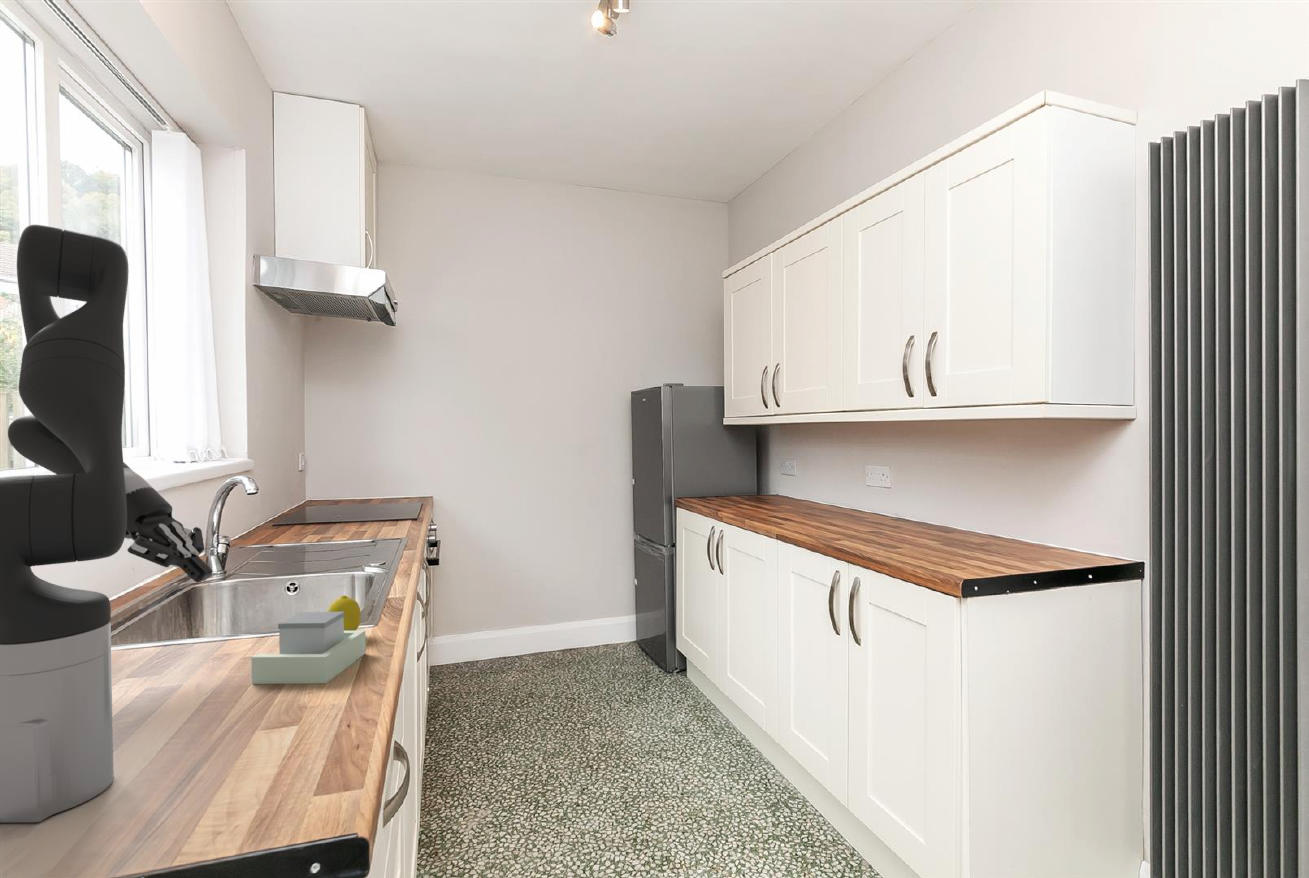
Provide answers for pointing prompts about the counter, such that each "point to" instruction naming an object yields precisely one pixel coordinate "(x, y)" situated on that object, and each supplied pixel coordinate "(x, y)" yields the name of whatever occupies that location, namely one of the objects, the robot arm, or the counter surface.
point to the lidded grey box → (311, 632)
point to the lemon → (347, 612)
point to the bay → (308, 663)
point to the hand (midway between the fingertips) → (205, 577)
